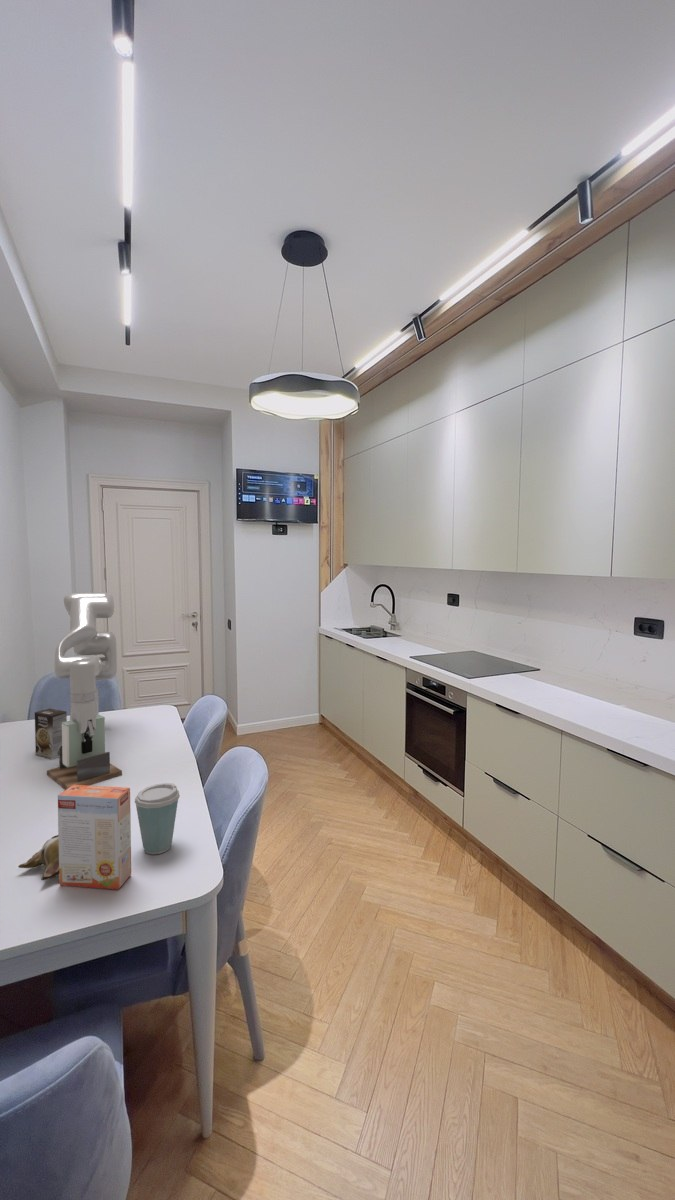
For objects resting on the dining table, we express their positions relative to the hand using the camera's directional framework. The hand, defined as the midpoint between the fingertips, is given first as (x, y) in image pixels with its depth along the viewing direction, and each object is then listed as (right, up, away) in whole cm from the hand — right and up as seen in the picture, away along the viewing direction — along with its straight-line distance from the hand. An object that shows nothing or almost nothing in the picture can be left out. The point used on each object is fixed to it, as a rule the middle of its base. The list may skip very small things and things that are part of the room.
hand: (84, 750), depth 166 cm
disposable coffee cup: (+39, -12, -40) cm, 58 cm away
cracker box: (+30, -13, -54) cm, 63 cm away
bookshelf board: (0, -8, +1) cm, 8 cm away
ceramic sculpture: (+20, -13, -48) cm, 54 cm away
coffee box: (-21, -7, +18) cm, 28 cm away
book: (0, -4, 0) cm, 4 cm away
